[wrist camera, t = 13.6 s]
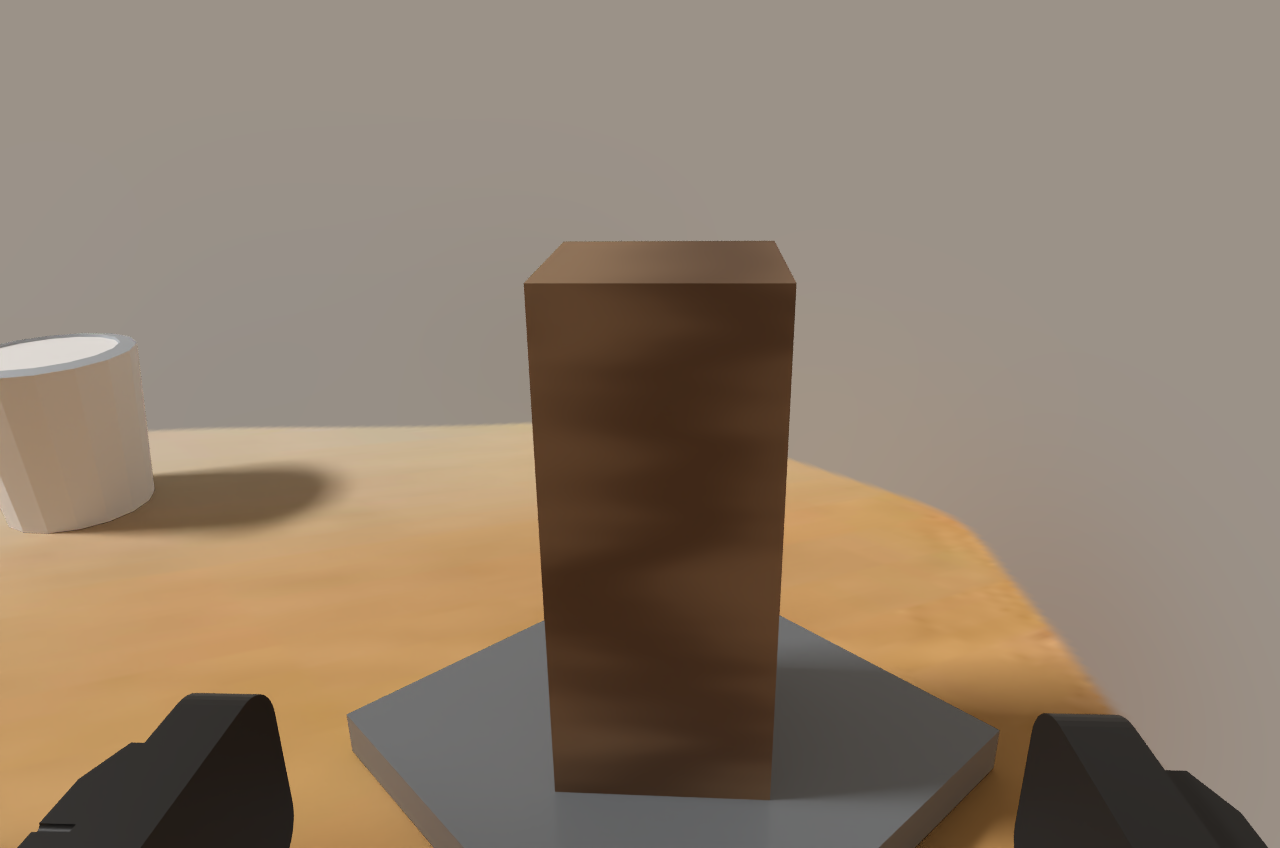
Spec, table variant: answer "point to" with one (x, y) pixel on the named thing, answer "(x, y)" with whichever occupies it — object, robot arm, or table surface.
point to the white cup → (72, 432)
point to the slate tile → (664, 825)
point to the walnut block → (661, 509)
